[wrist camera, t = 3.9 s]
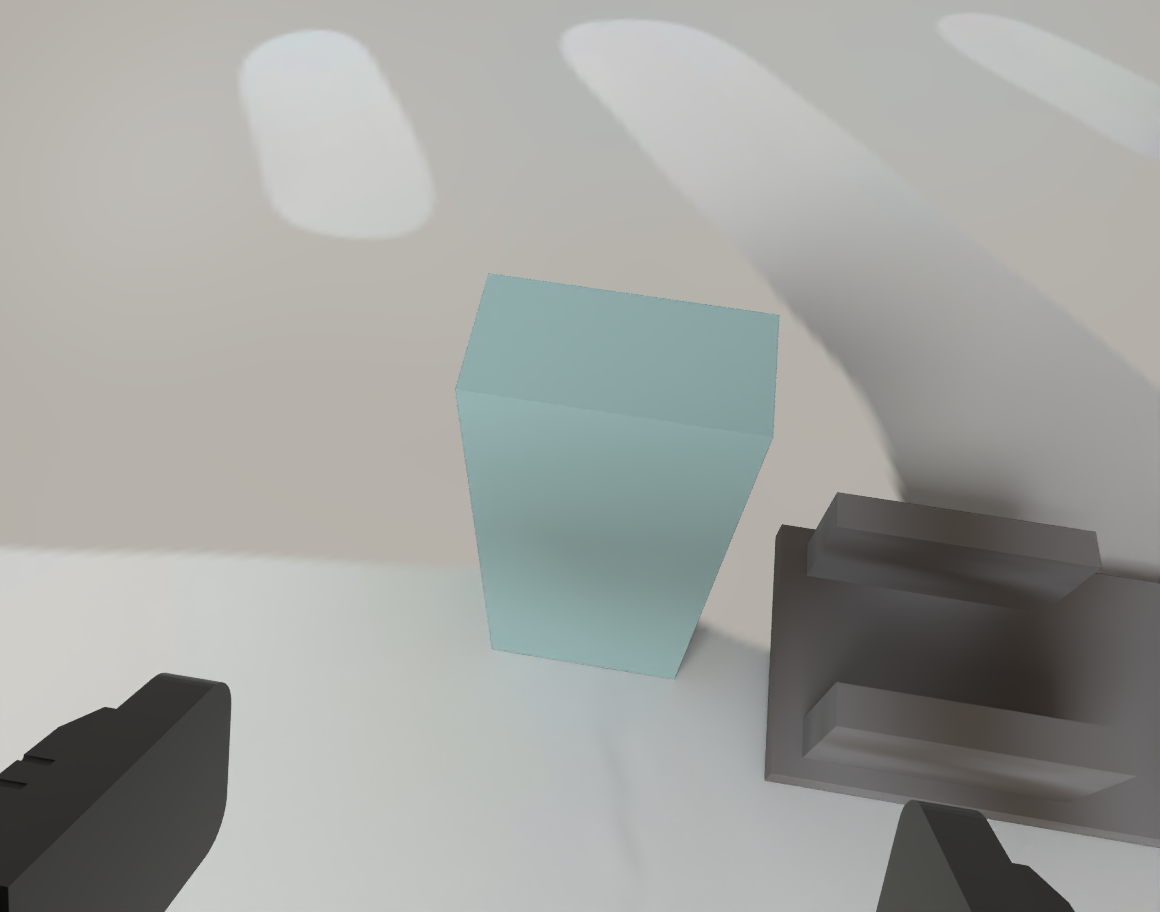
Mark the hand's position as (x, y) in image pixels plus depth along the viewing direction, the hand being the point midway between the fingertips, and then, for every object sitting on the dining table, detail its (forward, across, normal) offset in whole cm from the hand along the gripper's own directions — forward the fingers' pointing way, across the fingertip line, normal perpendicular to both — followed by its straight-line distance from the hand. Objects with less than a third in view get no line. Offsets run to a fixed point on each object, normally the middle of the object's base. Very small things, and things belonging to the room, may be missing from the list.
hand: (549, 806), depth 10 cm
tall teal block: (+14, 0, +4) cm, 14 cm away
